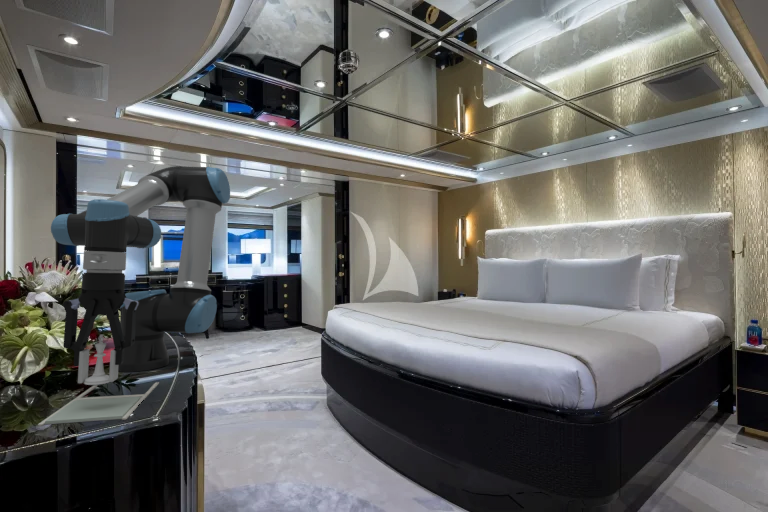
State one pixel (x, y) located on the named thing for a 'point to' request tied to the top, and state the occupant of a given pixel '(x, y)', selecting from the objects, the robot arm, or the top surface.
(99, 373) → the chess piece
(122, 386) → the top surface
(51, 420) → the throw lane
